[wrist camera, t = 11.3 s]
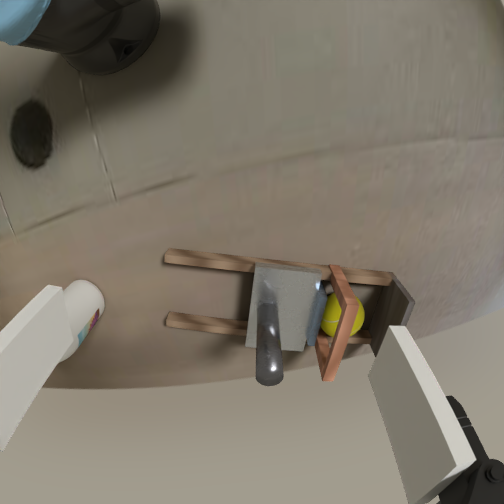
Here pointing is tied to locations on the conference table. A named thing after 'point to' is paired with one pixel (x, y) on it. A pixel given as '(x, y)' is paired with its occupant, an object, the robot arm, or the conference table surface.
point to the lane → (386, 314)
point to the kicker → (283, 315)
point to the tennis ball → (338, 316)
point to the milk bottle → (82, 311)
